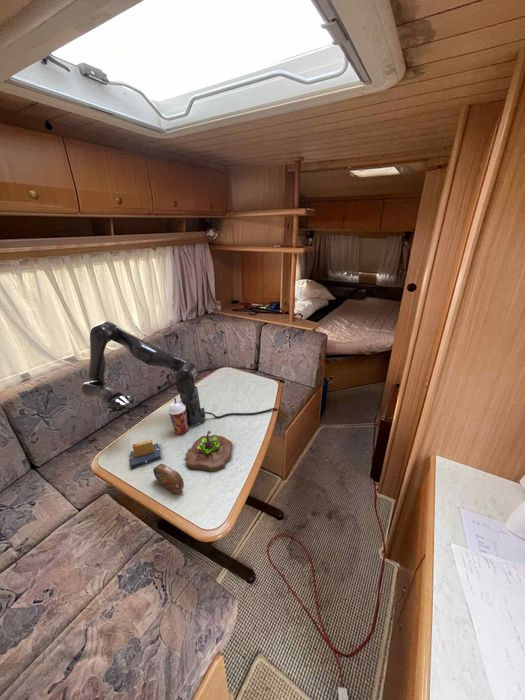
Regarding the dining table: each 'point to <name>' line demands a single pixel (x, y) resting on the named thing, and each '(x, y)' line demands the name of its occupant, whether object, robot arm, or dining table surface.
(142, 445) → the tap lever
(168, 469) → the tin
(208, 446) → the plant
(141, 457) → the tap plate
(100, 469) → the dining table surface
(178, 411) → the smoothie
